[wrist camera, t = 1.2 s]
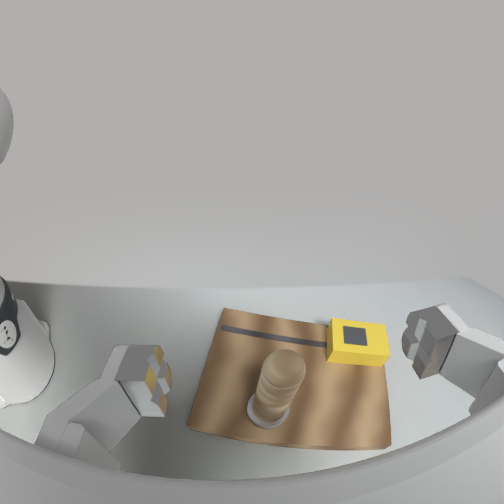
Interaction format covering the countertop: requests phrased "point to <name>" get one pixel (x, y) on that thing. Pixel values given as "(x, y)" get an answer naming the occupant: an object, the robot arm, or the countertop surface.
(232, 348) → the plywood board
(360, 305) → the countertop surface
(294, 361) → the wooden dome-topped peg
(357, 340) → the block
